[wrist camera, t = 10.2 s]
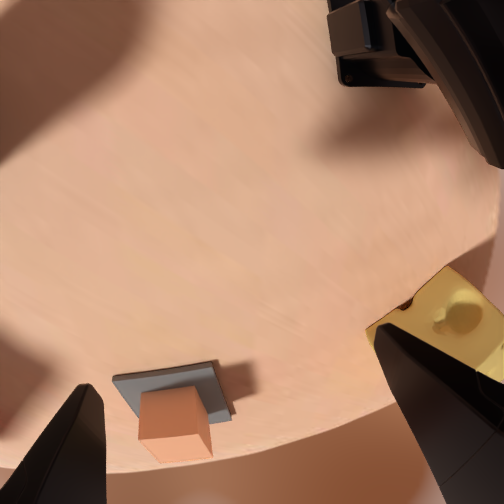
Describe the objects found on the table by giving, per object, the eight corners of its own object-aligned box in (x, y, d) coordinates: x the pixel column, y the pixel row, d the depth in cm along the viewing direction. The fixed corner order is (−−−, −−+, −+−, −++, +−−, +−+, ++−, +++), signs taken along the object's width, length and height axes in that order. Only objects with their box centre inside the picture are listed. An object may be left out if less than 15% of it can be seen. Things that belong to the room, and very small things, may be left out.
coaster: (211, 361, 25) (211, 367, 25) (231, 415, 30) (231, 420, 29) (112, 376, 24) (112, 381, 24) (149, 426, 29) (148, 431, 28)
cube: (194, 385, 25) (198, 433, 21) (207, 414, 28) (213, 457, 24) (140, 392, 25) (138, 439, 21) (159, 420, 27) (160, 463, 23)
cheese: (360, 330, 27) (413, 417, 18) (450, 256, 25) (523, 322, 16) (393, 372, 32) (433, 440, 23) (465, 314, 30) (516, 371, 21)
